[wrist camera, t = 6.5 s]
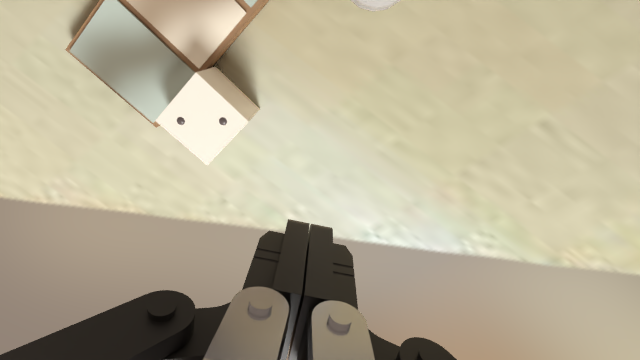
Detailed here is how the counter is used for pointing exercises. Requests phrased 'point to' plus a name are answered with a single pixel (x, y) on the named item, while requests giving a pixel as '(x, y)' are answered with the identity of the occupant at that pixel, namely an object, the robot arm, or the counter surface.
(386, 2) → the rook chess piece
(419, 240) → the counter surface
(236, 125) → the die
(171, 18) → the board
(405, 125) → the counter surface
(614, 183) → the counter surface
